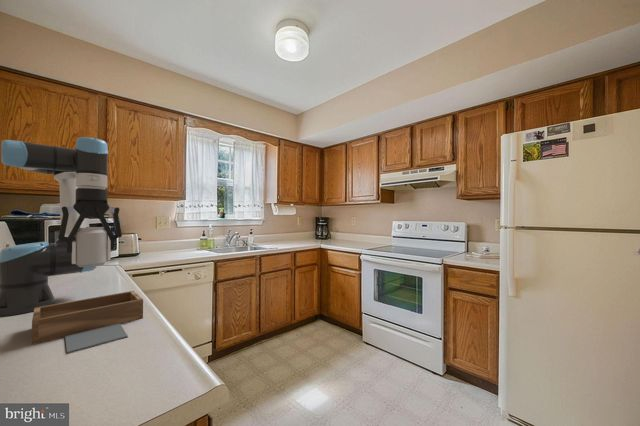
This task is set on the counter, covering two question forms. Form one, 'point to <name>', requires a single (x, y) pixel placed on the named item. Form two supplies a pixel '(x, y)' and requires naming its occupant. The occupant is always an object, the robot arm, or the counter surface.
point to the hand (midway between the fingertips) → (91, 261)
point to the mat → (94, 337)
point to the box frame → (84, 315)
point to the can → (91, 246)
